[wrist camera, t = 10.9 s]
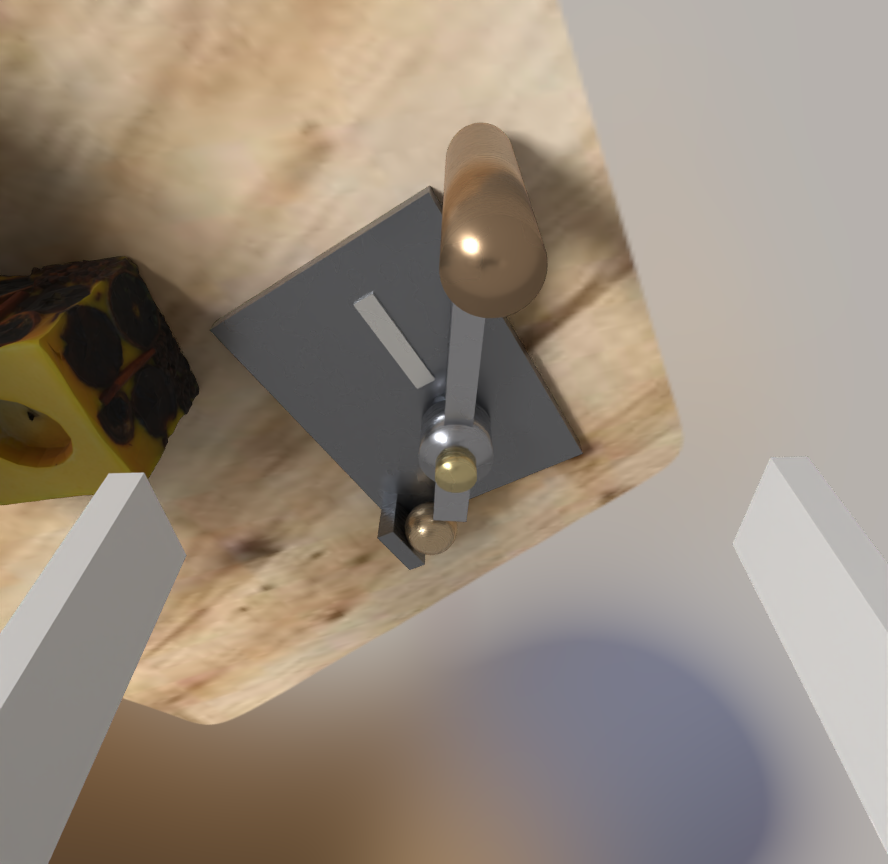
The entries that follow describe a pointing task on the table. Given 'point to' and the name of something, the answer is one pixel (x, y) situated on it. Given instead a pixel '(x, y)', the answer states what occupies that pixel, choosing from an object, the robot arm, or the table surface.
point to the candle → (84, 379)
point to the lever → (478, 289)
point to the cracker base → (393, 373)
